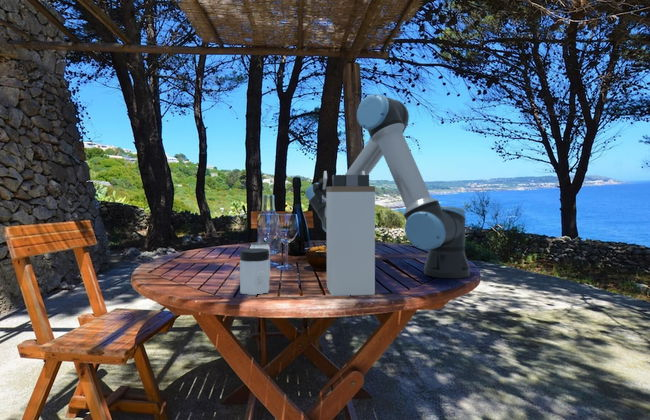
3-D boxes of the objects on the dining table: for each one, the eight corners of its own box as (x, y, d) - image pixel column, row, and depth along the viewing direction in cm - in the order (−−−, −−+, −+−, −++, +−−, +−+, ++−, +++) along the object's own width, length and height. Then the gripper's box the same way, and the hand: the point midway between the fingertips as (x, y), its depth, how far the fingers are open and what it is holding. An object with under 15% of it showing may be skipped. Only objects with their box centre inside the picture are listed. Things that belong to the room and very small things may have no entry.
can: (274, 279, 140) (273, 242, 140) (261, 283, 135) (260, 244, 134) (259, 277, 144) (258, 241, 143) (245, 280, 138) (245, 243, 138)
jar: (246, 297, 117) (245, 253, 117) (234, 291, 124) (234, 249, 124) (275, 292, 122) (275, 250, 122) (263, 287, 129) (262, 247, 129)
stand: (326, 286, 130) (326, 186, 128) (365, 285, 131) (365, 186, 130) (331, 296, 118) (331, 186, 117) (374, 294, 119) (375, 186, 118)
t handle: (325, 186, 139) (325, 176, 138) (356, 186, 140) (356, 176, 140) (334, 186, 119) (334, 174, 119) (369, 186, 120) (369, 174, 120)
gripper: (370, 217, 151) (383, 185, 131) (303, 217, 148) (306, 185, 129) (368, 198, 154) (381, 164, 135) (302, 198, 151) (305, 164, 132)
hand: (344, 174), depth 132 cm, fingers open, 11 cm apart
